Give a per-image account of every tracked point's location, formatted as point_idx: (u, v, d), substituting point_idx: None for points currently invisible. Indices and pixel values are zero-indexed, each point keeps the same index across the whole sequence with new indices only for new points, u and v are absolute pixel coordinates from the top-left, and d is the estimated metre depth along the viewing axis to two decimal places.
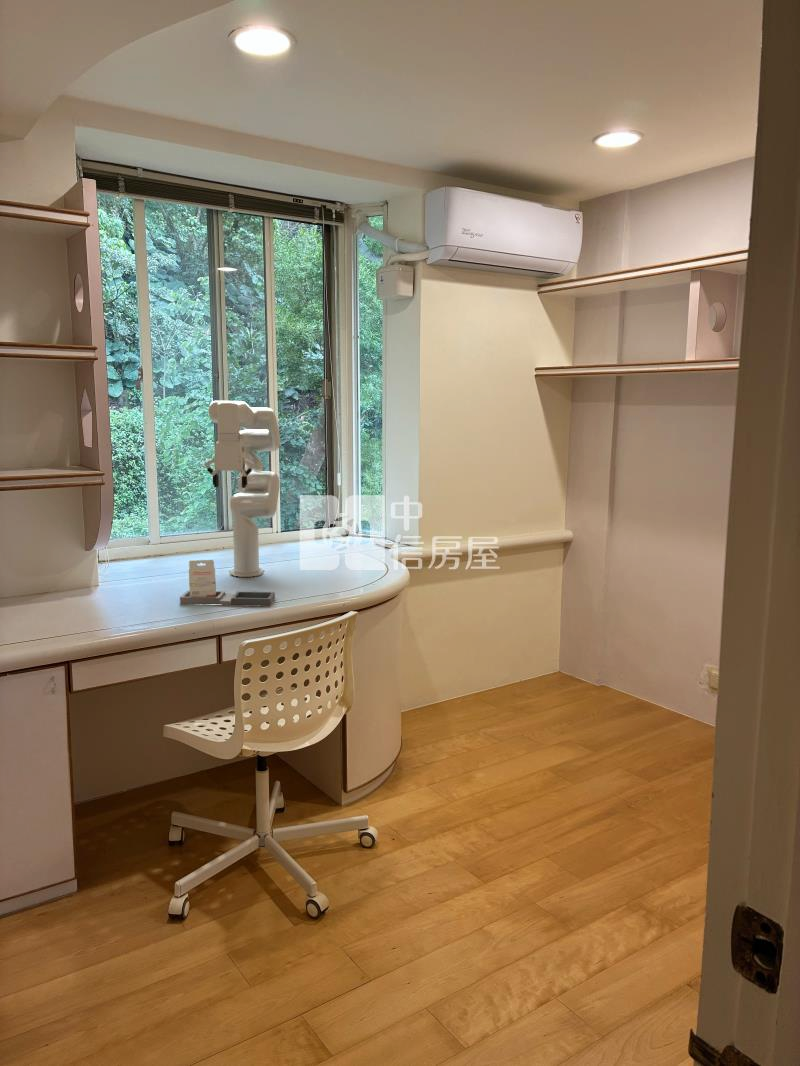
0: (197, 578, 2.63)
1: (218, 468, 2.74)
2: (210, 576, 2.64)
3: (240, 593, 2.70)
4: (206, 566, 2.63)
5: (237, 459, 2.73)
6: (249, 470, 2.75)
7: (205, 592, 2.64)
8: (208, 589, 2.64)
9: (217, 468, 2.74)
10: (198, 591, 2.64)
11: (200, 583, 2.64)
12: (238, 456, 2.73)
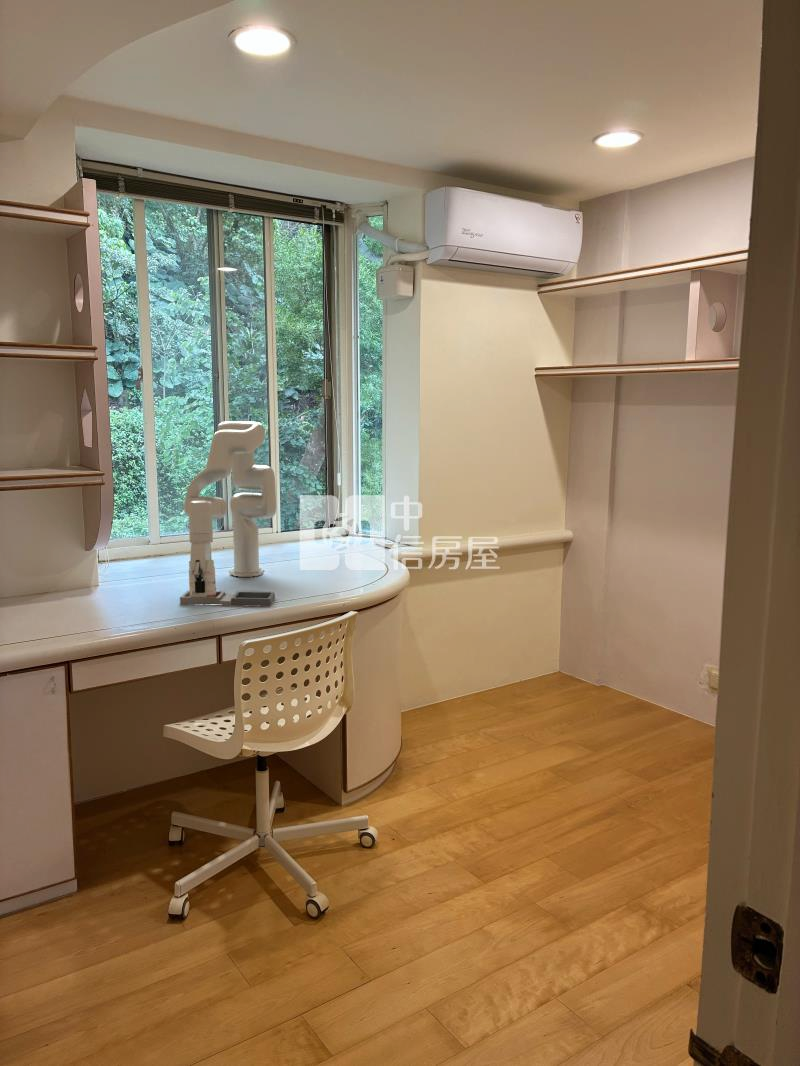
0: None
1: (205, 570, 2.62)
2: (210, 576, 2.64)
3: (240, 593, 2.70)
4: None
5: None
6: None
7: (205, 592, 2.64)
8: (208, 588, 2.64)
9: (205, 570, 2.61)
10: None
11: None
12: None
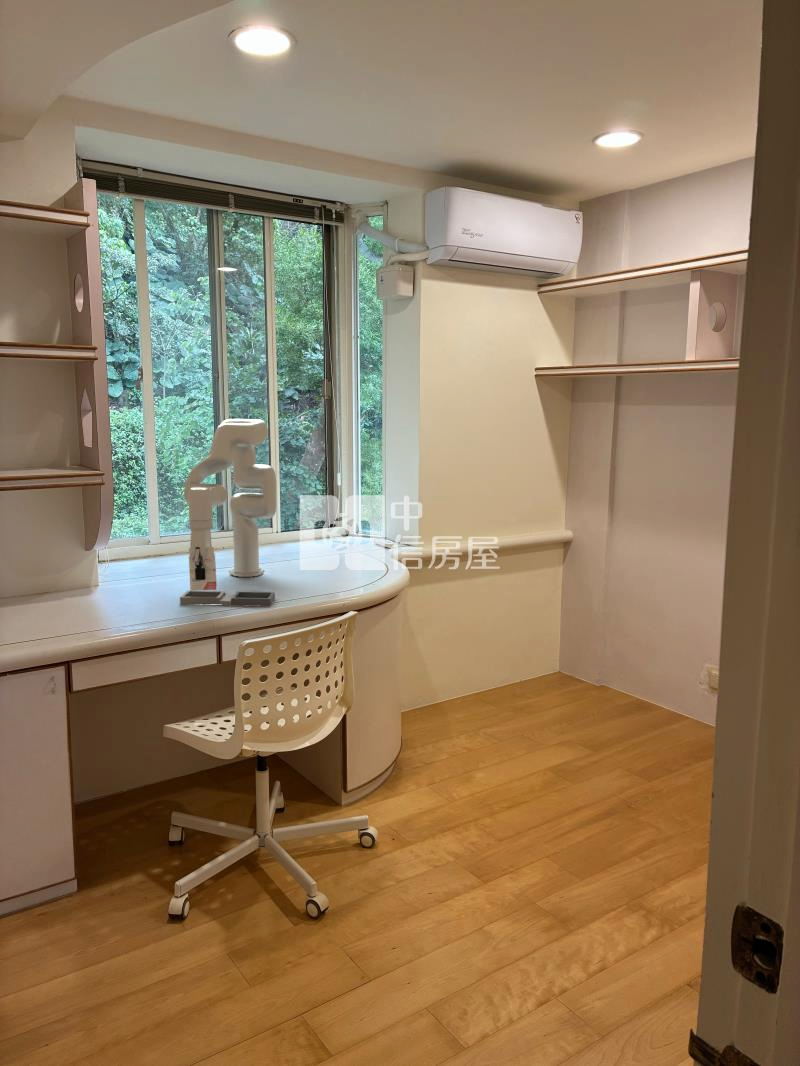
0: None
1: (205, 557, 2.61)
2: (210, 563, 2.63)
3: (240, 593, 2.70)
4: None
5: None
6: None
7: (205, 579, 2.64)
8: (208, 576, 2.64)
9: (205, 557, 2.61)
10: None
11: None
12: None
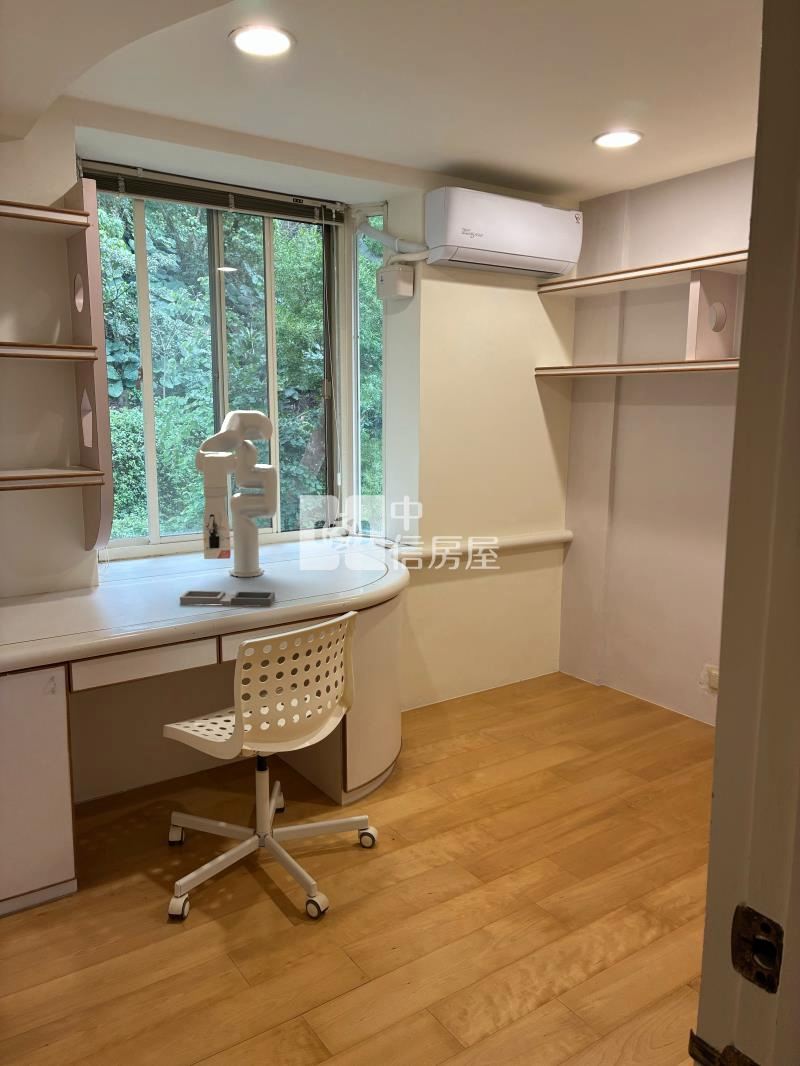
0: None
1: (219, 525, 2.59)
2: (224, 531, 2.61)
3: (240, 593, 2.70)
4: None
5: (225, 512, 2.65)
6: None
7: (220, 547, 2.62)
8: (222, 544, 2.62)
9: (219, 525, 2.59)
10: None
11: None
12: (225, 509, 2.65)
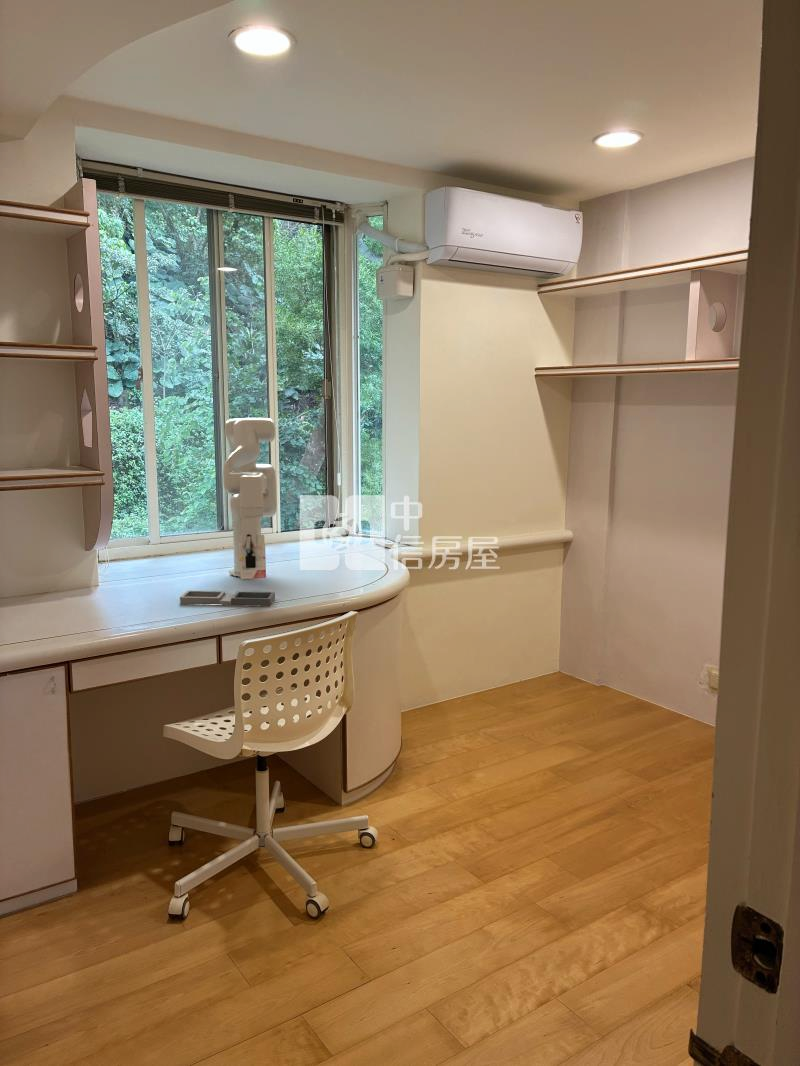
0: None
1: (256, 545, 2.60)
2: (260, 551, 2.62)
3: (240, 593, 2.70)
4: None
5: (260, 531, 2.66)
6: None
7: (256, 567, 2.63)
8: (258, 564, 2.63)
9: (256, 545, 2.60)
10: None
11: None
12: None
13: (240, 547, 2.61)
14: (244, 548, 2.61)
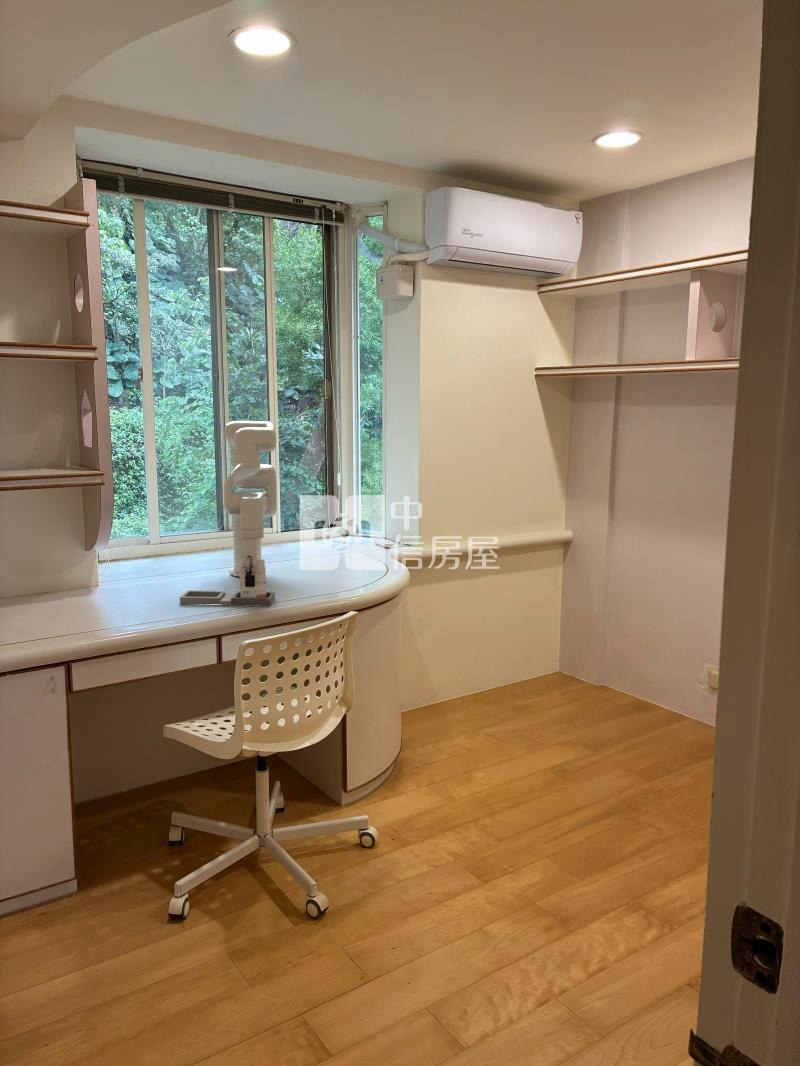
0: None
1: (256, 566, 2.61)
2: (260, 576, 2.64)
3: (240, 593, 2.70)
4: None
5: None
6: None
7: (256, 592, 2.65)
8: (258, 588, 2.64)
9: (256, 566, 2.61)
10: (248, 591, 2.64)
11: None
12: None
13: (240, 572, 2.63)
14: (244, 573, 2.63)
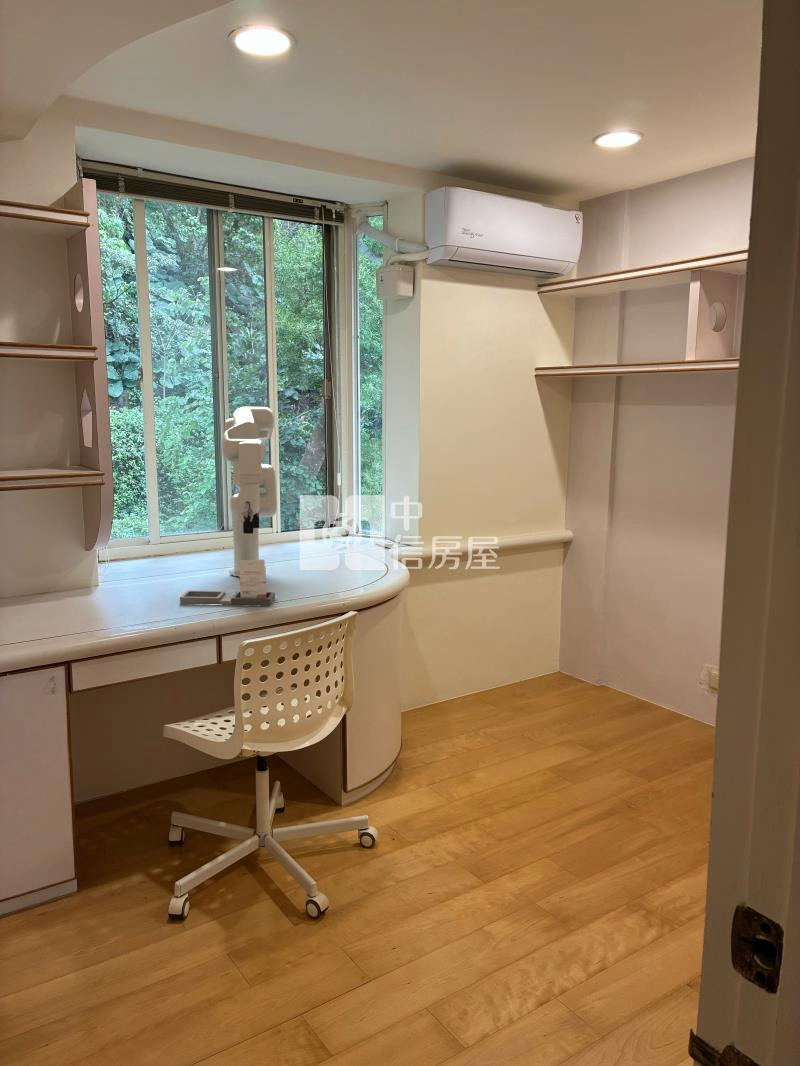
0: (248, 578, 2.63)
1: (255, 512, 2.59)
2: (260, 576, 2.64)
3: (240, 593, 2.70)
4: (257, 566, 2.63)
5: (259, 499, 2.65)
6: None
7: (256, 592, 2.65)
8: (258, 588, 2.64)
9: (254, 512, 2.58)
10: (248, 591, 2.64)
11: (250, 582, 2.64)
12: (259, 496, 2.65)
13: (240, 572, 2.63)
14: (244, 573, 2.63)
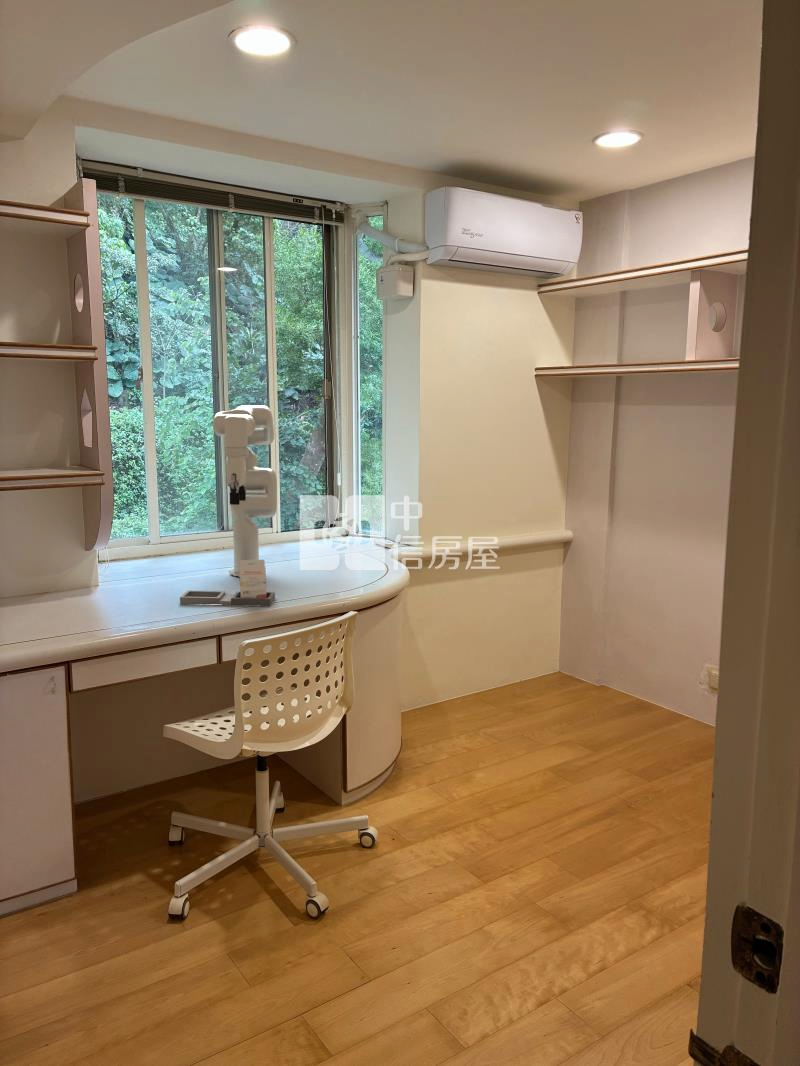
0: (248, 578, 2.63)
1: (241, 484, 2.68)
2: (260, 576, 2.64)
3: (240, 593, 2.70)
4: (257, 566, 2.63)
5: (245, 472, 2.74)
6: None
7: (256, 592, 2.65)
8: (258, 588, 2.64)
9: (240, 484, 2.67)
10: (248, 591, 2.64)
11: (250, 582, 2.64)
12: None
13: (240, 572, 2.63)
14: (244, 573, 2.63)
